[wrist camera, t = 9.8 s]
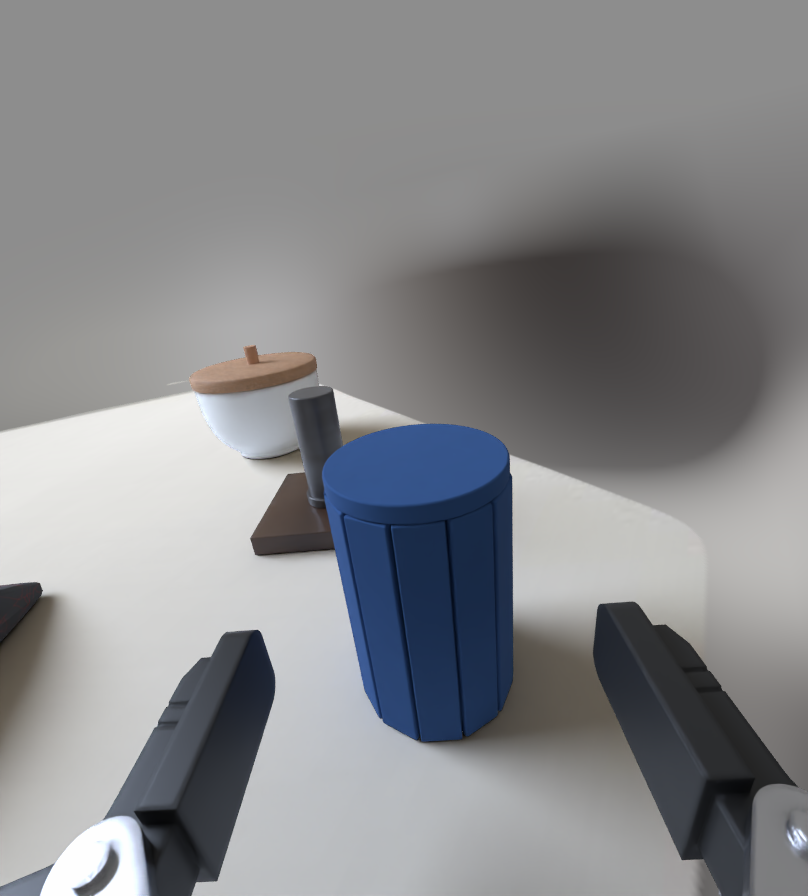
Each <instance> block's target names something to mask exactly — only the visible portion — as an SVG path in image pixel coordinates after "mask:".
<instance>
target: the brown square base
mask: <svg viewBox="0 0 808 896" xmlns="http://www.w3.org/2000/svg"><path fill="white" fill-rule="evenodd" d="M288 399H289V404H290V408H291V412H292V417H293V421H294V426H295V430H296V435H297V439H298V444H299V448H300V452H301V457H302V461H303V466H304V470H305V473H294V474H288V475H287V476H286V478H285V480H284V481H283V483H282V485H281V487H280V488H279V490H278V492H277V493H276V495H275V497H274V499H273V500H272V502H271V504H270V505H269V507H268V509H267V511H266V512H265V514H264V516H263V517H262V519H261V521H260V523H259V524H258V526H257V528H256V529H255V531H254V533H253V535H252V536H251V538H250V539H251V542H252V546H253V549H254V552H255V555H262V554H274V553H286V552H299V551H311V550H323V549H335V547H334V542H333V537H332V533H331V528H330V523H329V518H328V514H327V509H326V504H325V499H324V491H325V489H324V484H323V479H322V471H323V467H324V464H325V463H326V461H327V459H328V458H329V457H330V456H331V455H332V454H333V453H334V452H335V451H336V450H338V449H339V448H341V447H342V446H343V443H342V437H341V431H340V426H339V420H338V415H337V409H336V404H335V398H334V392H333V389H332V388H331V387H327V386H314V387H308V388H303V389H299V390H296V391H294V392H292V393H290V394H289V395H288Z"/></svg>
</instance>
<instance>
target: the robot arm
mask: <svg viewBox="0 0 808 896" xmlns="http://www.w3.org/2000/svg"><path fill="white" fill-rule="evenodd" d="M593 656H594V663H595V668H596V671H597V674H598V677H599V680H600V682H601V684H602V687H603V689H604V691H605V693H606V695H607V697H608V700H609V702H610V704H611V706H612V708H613V710H614V713H615V715H616V717H617V719H618V721H619V724H620V726H621V728H622V730H623V732H624V734H625V737H626V739H627V741H628V743H629V745H630V748H631V750H632V752H633V754H634V756H635V758H636V761H637V763H638V765H639V767H640V769H641V772H642V774H643V776H644V778H645V780H646V782H647V785H648V787H649V789H650V791H651V793H652V796H653V798H654V800H655V802H656V804H657V806H658V809H659V811H660V813H661V815H662V817H663V819H664V822H665V824H666V826H667V828H668V830H669V833H670V835H671V837H672V839H673V841H674V843H675V846H676V848H677V850H678V852H679V854H680V857H681V859H682V860H693V859H704V860H705V863H706V865H707V867H708V868H709V871H710V873H711V875H712V876H713V879H714V881H715V882H716V884H717V887H718V889H719V893H718V896H808V791H806V790H803V789H801V788H799V787H798V786H797V785H796V784H795V783H794V782H793V781H792V780H791V779H790V778H789V776H788V775H787V774H786V773H785V772H784V770H783V769H782V768H781V766H780V765H779V764H778V762H777V761H776V759H775V758H774V757H773V755H772V754H771V753H770V751H769V750H768V749H767V747H766V746H765V745H764V743H763V742H762V741H761V739H760V738H759V737H758V735H757V734H756V733H755V731H754V730H753V729H752V727H751V726H750V724H749V723H748V722H747V720H746V719H745V718H744V716H743V715H742V714H741V712H740V711H739V710H738V708H737V707H736V705H735V704H734V703H733V701H732V700H731V699H730V697H729V696H728V695H727V693H726V692H725V691H722V689H721V685H720V684H719V683H718V681H717V680H716V679H715V677H714V676H713V674H712V673H711V672H710V671H708V670H707V666H706V665H705V664H704V662H703V661H702V660H701V658H700V657H699V656H698V654H697V653H696V652H695V650H694V649H693V647H692V646H691V645H690V643H688V642H687V641H686V640H685V639H683V638H682V637H681V636H679V635H678V634H677V633H676V632H674V631H673V630H672V629H670V628H669V627H668V626H667V625H652V624H651V622H650V621H649V619H648V618H647V616H646V615H645V613H644V612H643V610H642V609H641V608H640V606H639V605H638V604H637V603H635V602H621V603H607V604H600V605H599V606H598V609H597V618H596V628H595V638H594V647H593ZM274 695H275V674H274V670H273V667H272V664H271V661H270V658H269V655H268V652H267V649H266V646H265V643H264V640H263V637H262V634H261V632H260V631H259V630H249V631H236V632H226V633H225V634H224V635H223V636H222V637H221V639H220V641H219V643H218V645H217V646H216V648H215V650H214V652H213V654H212V656H211V657H208V658H201V659H200V660H199V661H198V662H197V663H196V664H195V665H194V666H193V667H192V668H191V670H190V671H189V672H188V673H187V674H186V675H185V676H184V677H183V678H182V679H181V681H180V683H179V685H178V687H177V688H176V690H175V692H174V694H173V696H172V698H171V699H170V701H169V706H168V707H166V708H165V710H164V712H163V714H162V716H161V718H160V719H159V721H158V726H157V727H155V728H154V730H153V732H152V734H151V736H150V738H149V739H148V741H147V743H146V745H145V747H144V748H143V750H142V752H141V754H140V756H139V758H138V759H137V761H136V763H135V765H134V767H133V768H132V770H131V772H130V774H129V776H128V778H127V779H126V781H125V783H124V785H123V787H122V788H121V790H120V792H119V794H118V796H117V798H116V799H115V801H114V803H113V805H112V807H111V808H110V810H109V812H108V813H107V815H106V816H105V818H104V819H103V820H102V821H101V822H99V823H97V824H96V825H94V826H92V827H91V828H89V829H88V830H87V831H85V832H84V833H83V834H82V835H80V836H79V837H78V838H77V839H76V840H75V841H74V842H73V843H72V844H71V845H70V846H69V847H68V848H67V849H66V850H65V852H64V853H63V854H62V855H61V857H60V858H59V859H58V861H57V862H56V863H54V864H52V865H50V866H48V867H46V868H44V869H42V870H39V871H37V872H35V873H32V874H30V875H27V876H25V877H23V878H20V879H18V880H16V881H13V882H11V883H8V884H6V885H4V886H1V887H0V896H191V895H192V892H193V889H194V886H195V883H196V882H210V881H217V880H218V877H219V874H220V870H221V867H222V864H223V861H224V858H225V854H226V851H227V848H228V845H229V842H230V838H231V835H232V832H233V829H234V826H235V822H236V819H237V816H238V813H239V809H240V806H241V803H242V800H243V797H244V793H245V790H246V787H247V784H248V781H249V777H250V774H251V771H252V768H253V765H254V761H255V758H256V755H257V752H258V749H259V745H260V742H261V739H262V736H263V732H264V729H265V726H266V723H267V720H268V716H269V713H270V710H271V707H272V704H273V700H274Z"/></svg>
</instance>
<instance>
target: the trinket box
mask: <svg viewBox="0 0 808 896" xmlns="http://www.w3.org/2000/svg"><path fill="white" fill-rule="evenodd" d="M243 348H244V351H245V356H246V357H245V358H240V359H236V360H231V361H226V362H222V363H219V364H215V365H212V366H208V367H206V368H203V369H201V370H198V371H197V372H195V373H193V374H192V375H191V376H190V378H189V381H190V384H191V387H192V389H193V390H194V391H195V395H196V398H197V401H198V404H199V406H200V409H201V412H202V414H203V416H204V418H205V420H206V422H207V424H208V426H209V427H210V429H211V430H212V432H213V433H214V434H215V435H216V436H217V438H218V439H220V440H221V441H222V442H223V443H224V444H225V445H227V446H229V447H230V448H232V449H234V450H236V451H239V452H241V455H242V456H244V457H246V458H250V459H265V458H272V457H277V456H281V455H284V454H287V453H290V452H292V451H295V450H296V449H298V448H299V444H298V439H297V435H296V430H295V426H294V421H293V417H292V412H291V408H290V404H289V399H288V395H289V394H290V393H292V392H294V391H296V390H299V389H303V388H308V387H314V386H319V381H318V376H317V371H316V368H317V364H316V358H315V357H314V356H313V355H312V354H309V353H302V352H285V353H272V354H264V355H258V353H257V349H256V346H255V345H251V346H245V347H243Z"/></svg>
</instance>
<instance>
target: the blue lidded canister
mask: <svg viewBox="0 0 808 896" xmlns="http://www.w3.org/2000/svg"><path fill="white" fill-rule="evenodd" d="M322 479H323V484H324V489H325V491H324V499H325V504H326V509H327V514H328V518H329V523H330V528H331V533H332V537H333V542H334V547H335V552H336V556H337V561H338V566H339V571H340V575H341V580H342V585H343V590H344V594H345V599H346V604H347V609H348V613H349V618H350V623H351V628H352V632H353V637H354V642H355V647H356V651H357V656H358V661H359V666H360V670H361V675H362V680H363V685H364V689H365V692H366V694H367V696H368V697H369V699H370V701H371V703H372V705H373V707H374V709H375V711H376V713H377V714H378V716H379V718H383V722H384V723H385V724H387V725H389V726H391V727H393V728H395V729H396V730H398V731H400V732H402V733H404V734H406V735H407V736H409V737H411V738H413V739H415V740H417V739H418V738H419V736H421V741H423V742H424V741H442V740H460V739H462V731H463V733H464V734H465V735H466V736H469V735H471V734H472V733H474V732H475V731H477V730H478V729H479V728H481V727H482V726H484V725H485V724H486V723H488V722H489V721H491V720H492V719H494V718H495V717H496V716H497V715H498V711H501V710H502V708H503V705H504V703H505V700H506V697H507V695H508V692H509V689H510V687H511V684H512V681H513V546H512V476H511V474H510V457H509V453H508V450H507V448H506V447H505V445H504V444H503V443H502V442H501V441H500V440H499V439H497V438H496V437H494V436H493V435H491V434H488V433H486V432H484V431H481V430H478V429H474V428H470V427H465V426H458V425H449V424H418V425H408V426H401V427H395V428H390V429H385V430H381V431H378V432H374V433H371V434H368V435H365V436H362V437H360V438H357V439H355V440H353V441H351V442H349V443H347V444H346V445H344V446H342V447H341V448H339V449H338V450H336V451H335V452H334V453H333V454H332V455H331V456H330V457H329V458H328V459H327V461H326V463H325V464H324V467H323V471H322Z"/></svg>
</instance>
